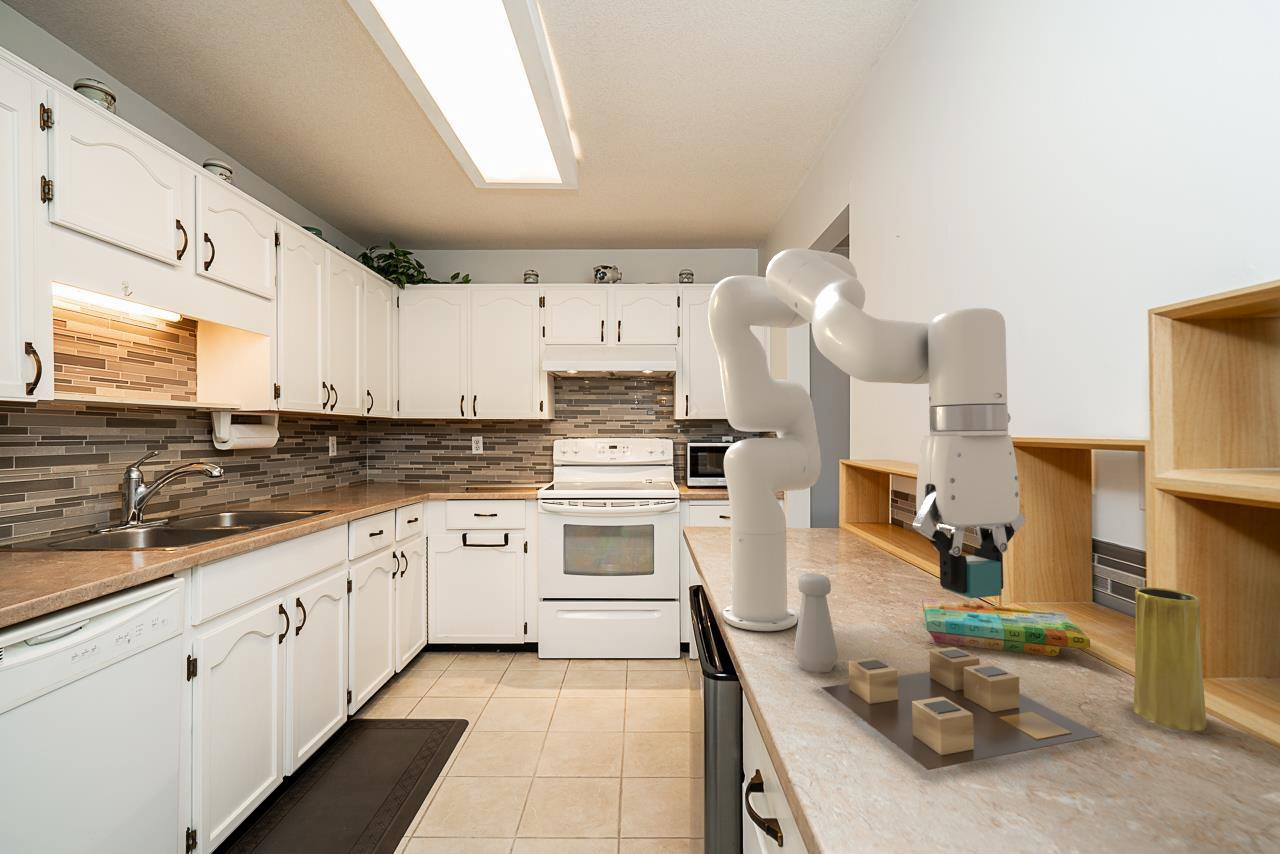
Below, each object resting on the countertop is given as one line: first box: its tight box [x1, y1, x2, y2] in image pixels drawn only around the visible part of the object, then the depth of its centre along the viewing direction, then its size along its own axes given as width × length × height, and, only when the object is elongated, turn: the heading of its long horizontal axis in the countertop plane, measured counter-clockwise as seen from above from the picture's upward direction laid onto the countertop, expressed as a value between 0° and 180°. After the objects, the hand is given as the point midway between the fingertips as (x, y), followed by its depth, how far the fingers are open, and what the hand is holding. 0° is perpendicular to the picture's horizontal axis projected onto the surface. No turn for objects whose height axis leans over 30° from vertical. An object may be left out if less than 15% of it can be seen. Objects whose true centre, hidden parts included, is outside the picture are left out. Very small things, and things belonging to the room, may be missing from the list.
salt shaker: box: [793, 572, 839, 674], centre depth 78 cm, size 6×6×13 cm
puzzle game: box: [921, 598, 1091, 657], centre depth 87 cm, size 12×5×20 cm
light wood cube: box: [848, 656, 899, 704], centre depth 69 cm, size 4×4×4 cm
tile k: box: [912, 697, 974, 755], centre depth 59 cm, size 4×4×4 cm
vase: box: [1132, 586, 1208, 732], centre depth 63 cm, size 6×6×14 cm
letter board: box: [820, 671, 1103, 771], centre depth 65 cm, size 18×22×1 cm
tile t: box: [963, 662, 1020, 712], centre depth 67 cm, size 4×4×4 cm
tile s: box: [942, 554, 1002, 599], centre depth 63 cm, size 4×4×4 cm
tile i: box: [928, 646, 981, 691], centre depth 72 cm, size 4×4×4 cm
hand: (971, 586), depth 63 cm, fingers closed on tile s, 4 cm apart
